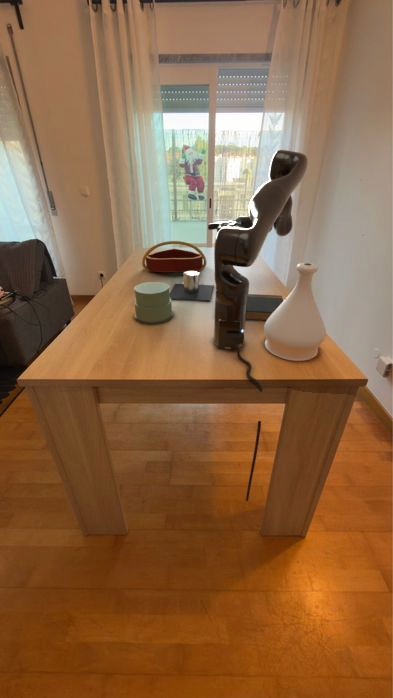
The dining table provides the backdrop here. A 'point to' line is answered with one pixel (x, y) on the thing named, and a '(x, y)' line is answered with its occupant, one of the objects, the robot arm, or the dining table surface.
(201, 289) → the slate mat
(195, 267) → the decorative basket
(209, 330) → the dining table surface
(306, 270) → the vase
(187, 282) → the steel cup
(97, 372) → the dining table surface
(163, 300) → the green round container
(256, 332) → the dining table surface
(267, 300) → the book
